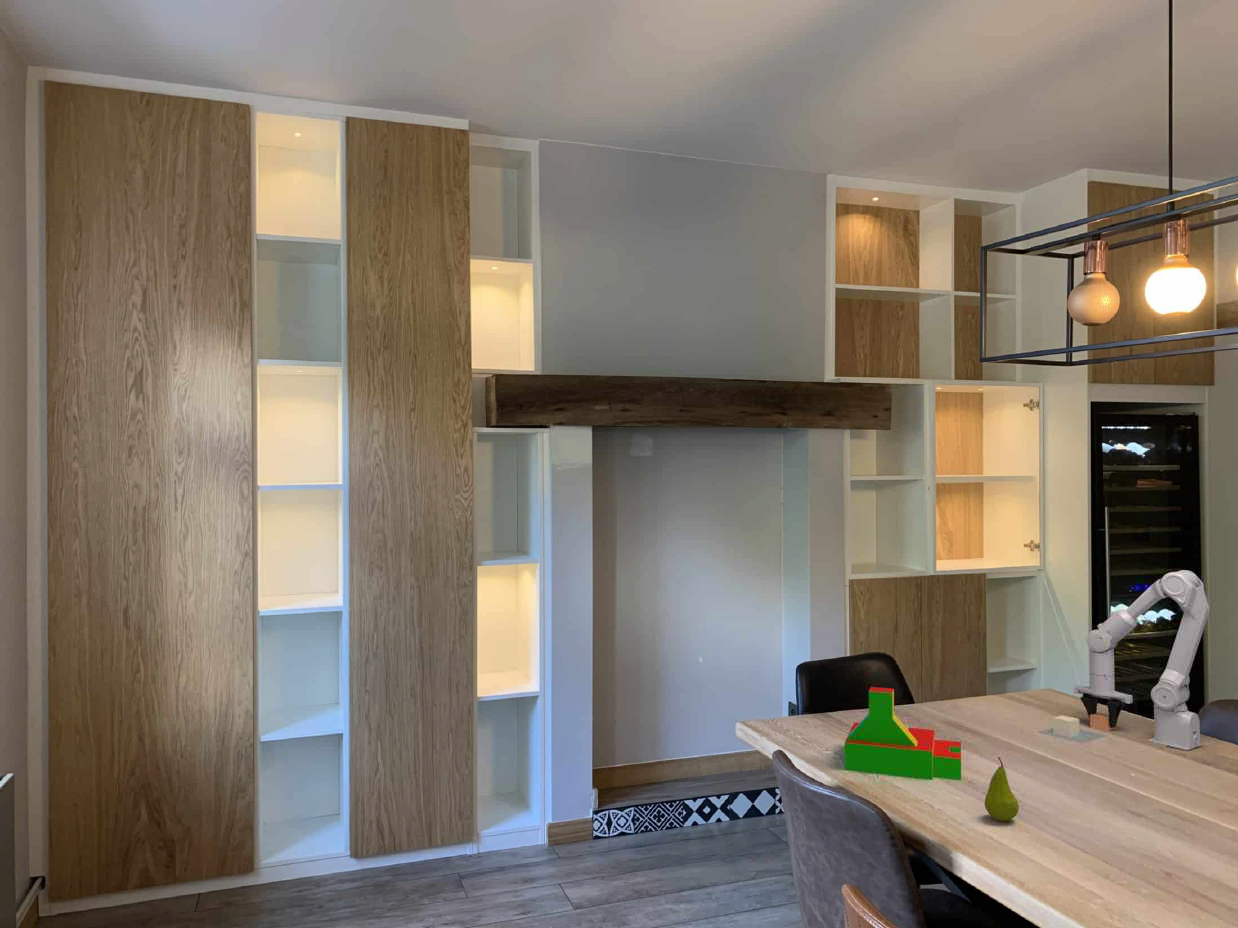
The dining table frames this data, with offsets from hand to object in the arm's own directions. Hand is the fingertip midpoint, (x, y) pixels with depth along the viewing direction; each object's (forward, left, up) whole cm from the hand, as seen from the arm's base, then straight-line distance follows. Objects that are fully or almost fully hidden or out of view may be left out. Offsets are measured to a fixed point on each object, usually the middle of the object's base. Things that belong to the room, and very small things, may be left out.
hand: (1102, 725), depth 236 cm
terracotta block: (0, 0, -1) cm, 1 cm away
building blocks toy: (+12, +69, -2) cm, 70 cm away
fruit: (-21, +82, -2) cm, 85 cm away
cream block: (+3, +13, -1) cm, 13 cm away
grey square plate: (+2, +12, -1) cm, 12 cm away
